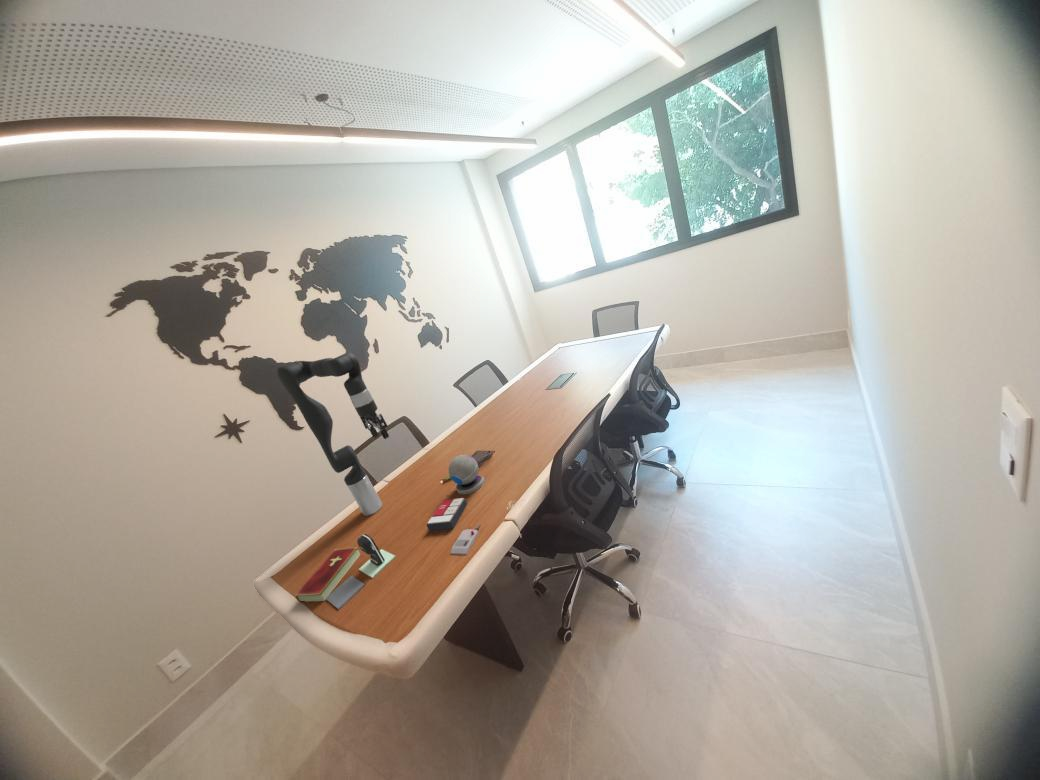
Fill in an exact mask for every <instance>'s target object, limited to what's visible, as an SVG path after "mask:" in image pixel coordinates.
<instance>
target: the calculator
mask: <svg viewBox="0 0 1040 780" xmlns="http://www.w3.org/2000/svg"><path fill="white" fill-rule="evenodd" d="M467 505H468V502H467V500H466V498H464V497H461V498H454V499H453V498H452V499H446V500H445V499H444V500H442V501H441V503H440V504H439V506H438V507H437V508H436V509H435V511H434V513H432V516H431V517H430V519H429V520H428V522H427V523H426V524H425V525H426V527H427V529H428V531H429V532H431V533H432V532H440V531H441V532H442V531H453V530H454V529H455V527H456V526H457V524H458V522H459V519H460V517H461V516H462V514H463V513H464V511H465V509H466V507H467Z"/></svg>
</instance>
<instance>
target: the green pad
mask: <svg viewBox="0 0 1040 780" xmlns="http://www.w3.org/2000/svg"><path fill="white" fill-rule="evenodd" d="M379 551H380V553H381V554H382V556H383V558H384V559H385V561H384V562H383V563H381V564H380V565H378V566H376V565H375V564H373V563H372V562H371V561H370V559H368V560H367V561H366V562H365V563H364V564H363V565H362V566H361V567H360V568H358V570H359V571H360V572H362V573H363V574H365V575H366V576H368V577H370V578H372V579H374V577H376V576H377V574H379V573H380V572H381V571H382V570H383V569H384V568H385V567H387V565H389V564H390V563H391V561H393V560H394V559H395V558H396V555H395V554H392V553H390V552H388V551H386V550H385V549H382V548H381V549H379Z"/></svg>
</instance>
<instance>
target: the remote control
mask: <svg viewBox="0 0 1040 780" xmlns="http://www.w3.org/2000/svg"><path fill="white" fill-rule="evenodd" d="M480 525H481V523H478V526H476V528H475V529H474V528H473V529H472V527H469V528H468V529H464V530H462V531H461V532H460V534H459V536H458V538H457V539H456V541H455V542H454V544H453V546H452V547H451V550H450V554H451V555H462V556H463V555H464V556H465V555H468V553H469V551H470V549H471V547H473V544H474V543H475V541H476V539H477V537H479V531H478V530H479V527H480Z"/></svg>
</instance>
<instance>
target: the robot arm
mask: <svg viewBox="0 0 1040 780" xmlns="http://www.w3.org/2000/svg"><path fill="white" fill-rule="evenodd" d="M276 374H277V377H278V379H279V381H280V383H281V384H282V385H283V387H284V388H285V390H286V392H287V393H288V394H289V395H290V397H291V398H292V399H293V401H294V402H295V404H296V407H297V408H298V410H299V411H300V413H301V414H302V417H303V419H304V420H305V422H306V424H307V426H308V427H309V429H310V430H311V432H312V434H313V435H314V437H315V439H316V440H317V441H318V443H319V444H320V447H321V449H322V451H323V453H324V455H325V457H326V459H327V461H328V463H329V465H330V466H331V468H332V470H333V471H334V472H335V473H337V474H340V473H342V472H344V471H345V470H348V469H349V468H351V469H350V470H349V472H348V473H347V474H346V475H345V477H344V479H343V481H344V483H345V484H346V487H347V489H348V490H349V491H350V493H351V495H352V497H353V498H354V501H356V505H358V507H359V510H360V511H361V513H362V514H363V516H365V517H366V516H371V515H373V514H376V513H377V512H378V511H379V510H380V509H381V508H382V507H383V502H382V500H381V498H380V497H379V495H378V493H377V491H376V489H375V488H374V486H373V483H372V482H371V480H370V479H369V476H368V475H367V473H366V471H365V469H364V468H363V465H362V463H361V461H360V460H359V457H358V456H357V454H356V451H355V449H354V448H353V447H352V446H350V445H345V446H343V447H341V448H339V449H337V450H336V451H334V452H333V447H332V436H333V435H332V433H333V426H334V420H333V418H332V416H331V414H330V412H329V411H328V409H327V408H326V405H324V404H322V403H321V402H319V401H317V400H315V399H314V398H312V397H310V396H309V395H308V394H307V393H305V391H304V390H303V389H302V388H301V387H300V385H299V384H302V383H305V382H306V381H308V380H309V379H311V378H313V377H318V378H325V377H336V378H337V377H338V378H339V377H342V376H345V375H347V374H348V378H347V379H346V380H345V381H344V382H343V386H344V388H345V390H346V392H347V394H348V396H349V399H350V401H351V404H352V405H353V407H354V410H355V411H356V413H357V414H358V415H357V416H358V417H359V419H360V420H361V423H362V425H363V427H364V428H365V430H368V431H370V434H371V436H372V437H373V439H376V438H377V437H379V433H380V435H381V436H382V437H383V439H384V440H387V439H388V438H389V437H390V435H389V433H388V431H387V428H388V424H387V422H386V420H385V419H384V417H383V415H382V413H380V414H377V412H376V411H378V406H377V404H376V402H375V400H374V398H373V397H372V394H371V392H370V390H368V388H367V386H366V383H365V381H364V379H363V376H362V371H361V365H360V362H359V359H358V358H357V356H356V355H355V354H353V353H351V352H345V353H343V354H341V355H339V356H336V357H334V358H333V357H327V358H322V359H321V358H320V359H318V360H314V361H313V360H312V361H309V360H296V361H292V362H289V363H287V364H283V365H282V366H279V367H278V368H277V369H276ZM377 429H378V431H379V433H378V431H377Z"/></svg>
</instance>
